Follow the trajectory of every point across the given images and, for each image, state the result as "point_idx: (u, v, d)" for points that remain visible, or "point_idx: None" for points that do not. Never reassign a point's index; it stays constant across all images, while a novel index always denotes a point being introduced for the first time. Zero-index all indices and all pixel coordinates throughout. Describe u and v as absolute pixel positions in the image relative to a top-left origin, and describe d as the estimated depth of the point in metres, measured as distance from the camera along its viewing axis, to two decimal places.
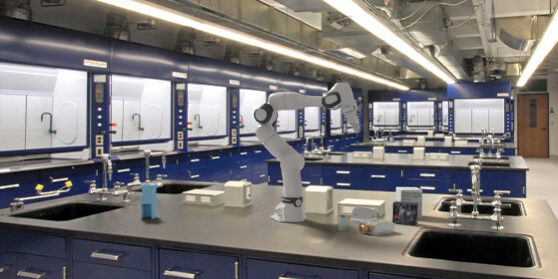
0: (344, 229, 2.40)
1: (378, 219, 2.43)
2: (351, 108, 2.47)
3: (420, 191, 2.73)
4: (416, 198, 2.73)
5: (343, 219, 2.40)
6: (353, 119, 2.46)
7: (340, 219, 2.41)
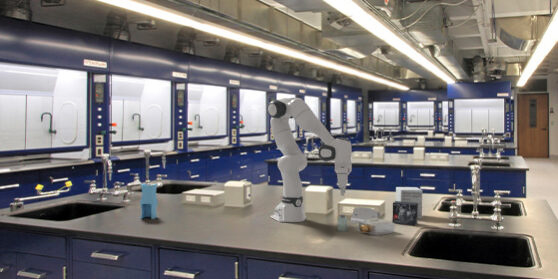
0: (344, 229, 2.40)
1: (378, 219, 2.43)
2: (346, 171, 2.33)
3: (420, 191, 2.73)
4: (416, 198, 2.73)
5: (343, 219, 2.40)
6: (344, 183, 2.32)
7: (340, 219, 2.41)
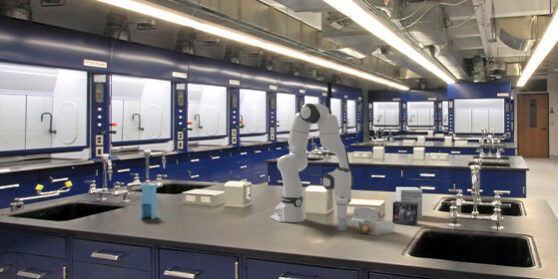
0: (344, 229, 2.40)
1: (378, 219, 2.43)
2: (345, 202, 2.33)
3: (420, 191, 2.73)
4: (416, 198, 2.73)
5: None
6: (344, 214, 2.32)
7: None
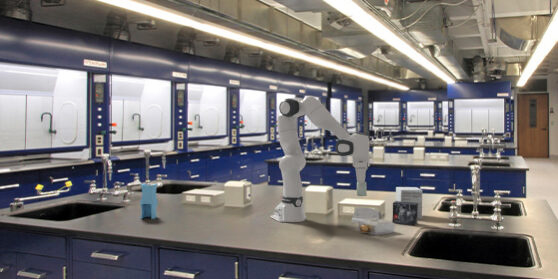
0: (363, 194, 2.38)
1: (378, 219, 2.43)
2: (364, 165, 2.31)
3: (420, 191, 2.73)
4: (416, 198, 2.73)
5: None
6: (363, 177, 2.30)
7: None
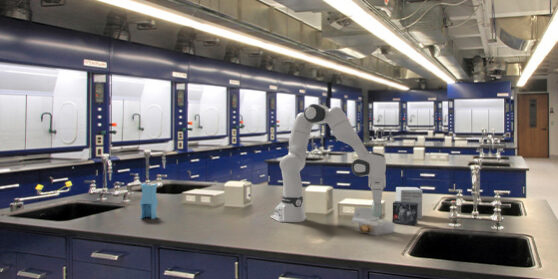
0: (379, 214, 2.37)
1: (378, 219, 2.43)
2: (381, 187, 2.30)
3: (420, 191, 2.73)
4: (416, 198, 2.73)
5: None
6: (379, 199, 2.29)
7: None
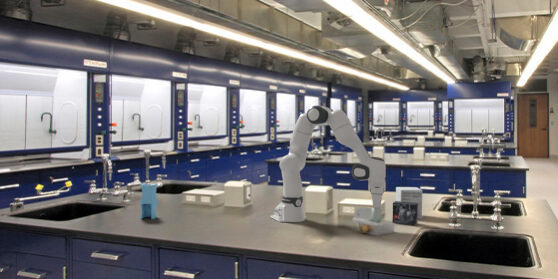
0: (378, 221, 2.38)
1: None
2: (381, 191, 2.30)
3: (420, 191, 2.73)
4: (416, 198, 2.73)
5: None
6: (379, 204, 2.29)
7: (374, 211, 2.38)
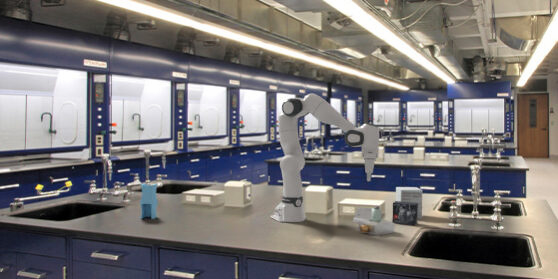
0: (378, 221, 2.38)
1: None
2: (373, 156, 2.32)
3: (420, 191, 2.73)
4: (416, 198, 2.73)
5: (377, 211, 2.37)
6: (371, 168, 2.31)
7: (374, 211, 2.38)
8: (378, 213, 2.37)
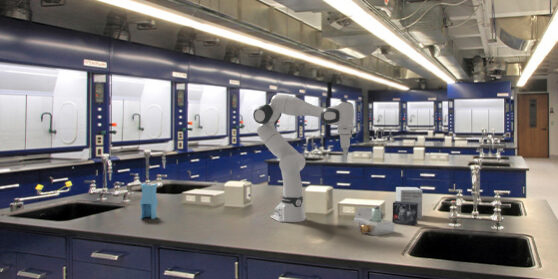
0: (378, 221, 2.38)
1: None
2: (348, 132, 2.40)
3: (420, 191, 2.73)
4: (416, 198, 2.73)
5: (377, 211, 2.37)
6: (347, 143, 2.39)
7: (374, 211, 2.38)
8: (378, 213, 2.37)
